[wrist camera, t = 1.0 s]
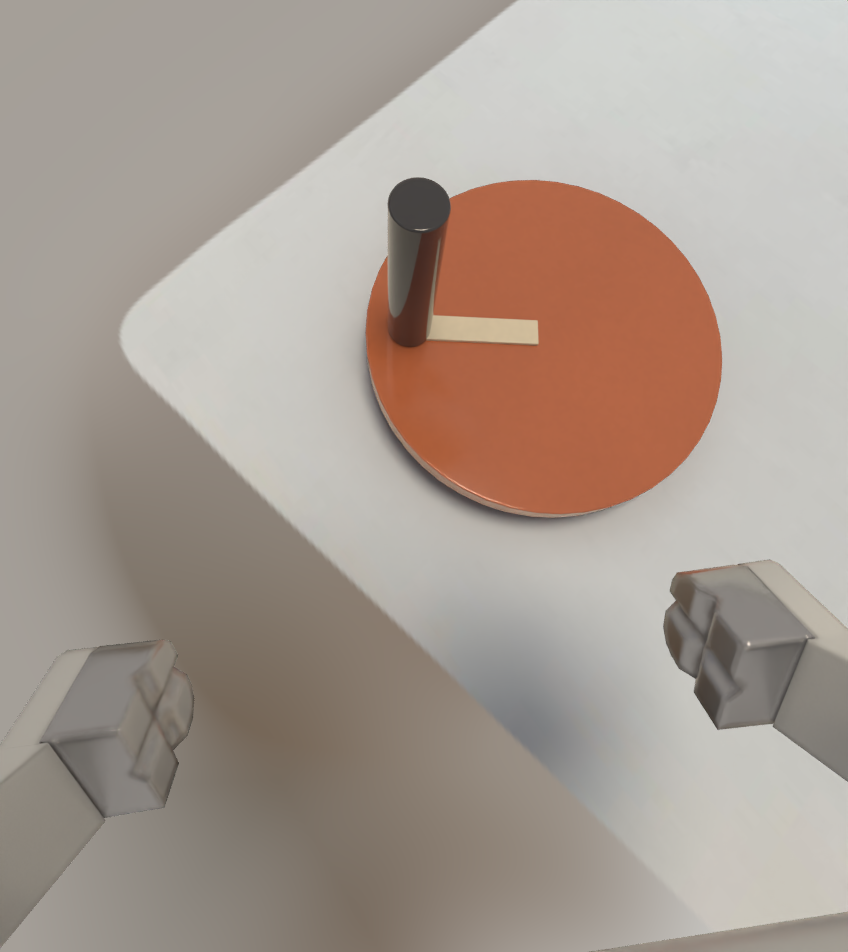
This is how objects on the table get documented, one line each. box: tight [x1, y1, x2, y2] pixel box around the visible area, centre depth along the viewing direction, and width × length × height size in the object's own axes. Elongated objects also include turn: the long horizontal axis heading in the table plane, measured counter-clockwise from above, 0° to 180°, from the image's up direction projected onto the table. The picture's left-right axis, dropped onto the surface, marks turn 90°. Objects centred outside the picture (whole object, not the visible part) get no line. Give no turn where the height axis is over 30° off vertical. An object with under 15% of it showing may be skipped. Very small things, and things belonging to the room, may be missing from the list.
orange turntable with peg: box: [366, 178, 722, 518], centre depth 21 cm, size 17×17×9 cm
